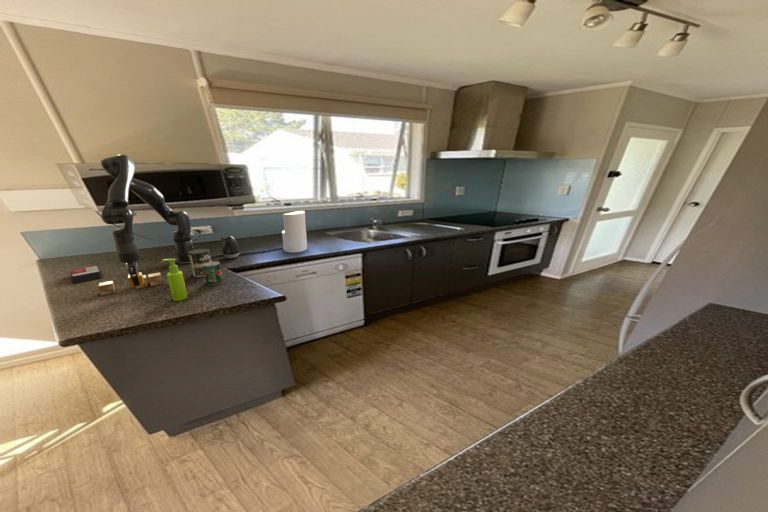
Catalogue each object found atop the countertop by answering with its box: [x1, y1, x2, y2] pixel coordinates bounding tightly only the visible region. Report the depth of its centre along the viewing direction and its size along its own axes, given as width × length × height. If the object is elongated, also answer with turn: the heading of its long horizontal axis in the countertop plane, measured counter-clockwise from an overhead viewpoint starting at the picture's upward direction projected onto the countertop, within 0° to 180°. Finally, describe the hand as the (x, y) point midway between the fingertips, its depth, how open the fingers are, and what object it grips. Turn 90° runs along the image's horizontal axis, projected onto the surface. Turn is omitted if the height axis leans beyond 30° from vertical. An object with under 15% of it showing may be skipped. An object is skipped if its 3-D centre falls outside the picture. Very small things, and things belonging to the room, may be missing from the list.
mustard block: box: [127, 271, 144, 288], centre depth 139 cm, size 5×5×5 cm
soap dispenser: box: [161, 258, 189, 302], centre depth 134 cm, size 6×7×20 cm
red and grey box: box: [70, 265, 103, 284], centre depth 159 cm, size 11×4×15 cm
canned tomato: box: [203, 260, 224, 286], centre depth 154 cm, size 8×8×11 cm
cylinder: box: [281, 210, 308, 253], centre depth 212 cm, size 17×17×28 cm
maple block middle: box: [135, 274, 149, 290], centre depth 149 cm, size 5×5×5 cm
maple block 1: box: [97, 280, 116, 296], centre depth 141 cm, size 5×5×5 cm
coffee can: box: [188, 247, 212, 278], centre depth 165 cm, size 10×10×14 cm
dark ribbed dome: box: [220, 235, 241, 260], centre depth 193 cm, size 10×10×15 cm
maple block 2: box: [147, 272, 163, 287], centre depth 153 cm, size 5×5×5 cm
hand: (137, 283), depth 139 cm, fingers closed on mustard block, 5 cm apart
